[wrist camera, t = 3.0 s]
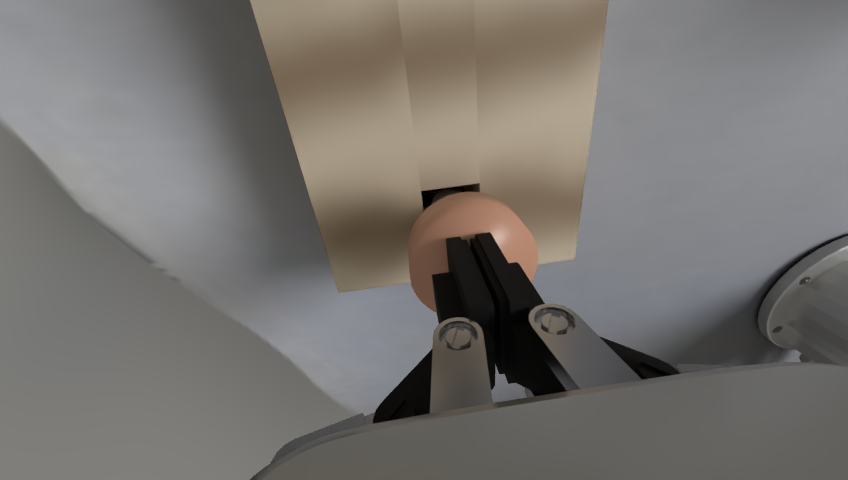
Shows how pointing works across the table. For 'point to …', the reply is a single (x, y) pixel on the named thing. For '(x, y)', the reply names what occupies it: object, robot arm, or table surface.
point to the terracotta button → (464, 236)
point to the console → (434, 115)
